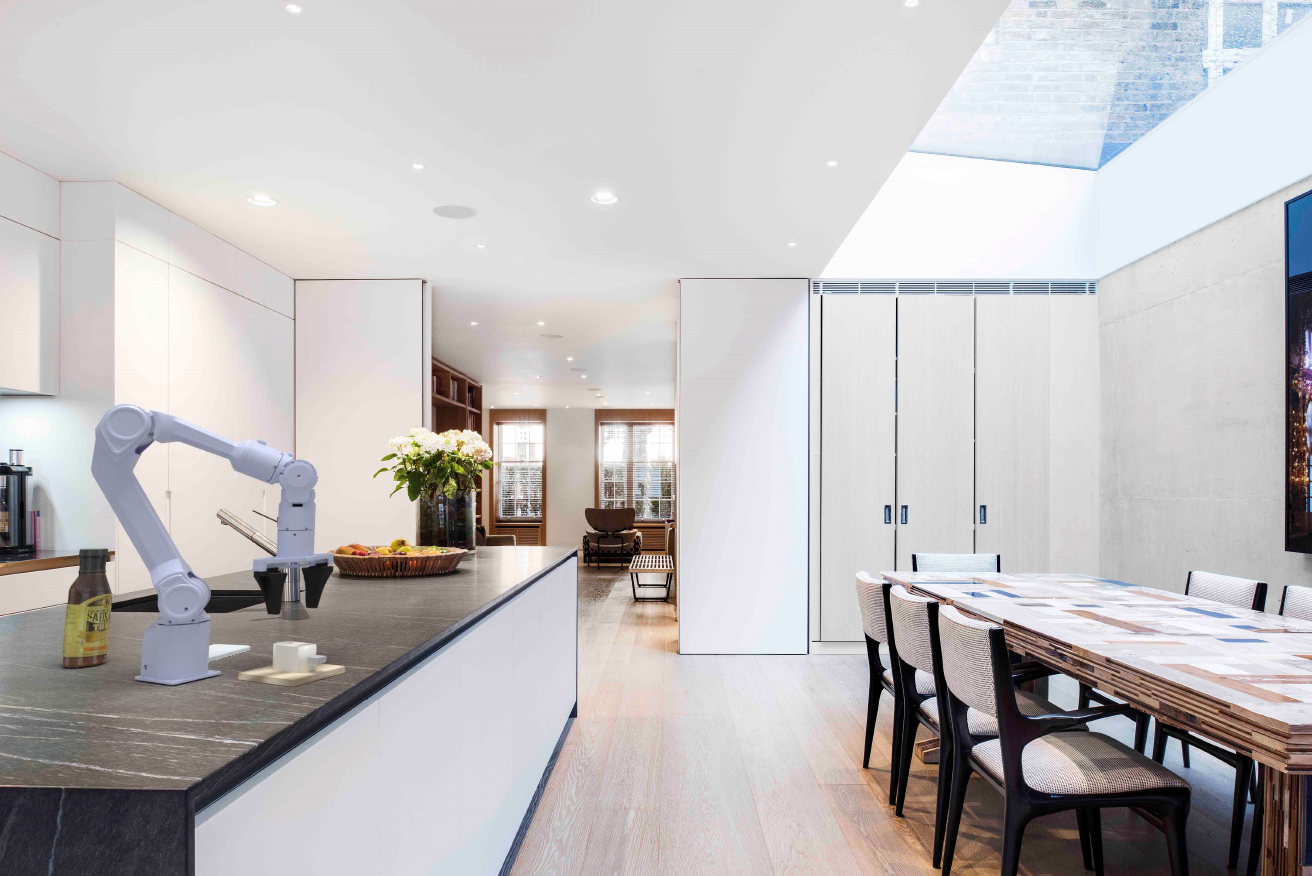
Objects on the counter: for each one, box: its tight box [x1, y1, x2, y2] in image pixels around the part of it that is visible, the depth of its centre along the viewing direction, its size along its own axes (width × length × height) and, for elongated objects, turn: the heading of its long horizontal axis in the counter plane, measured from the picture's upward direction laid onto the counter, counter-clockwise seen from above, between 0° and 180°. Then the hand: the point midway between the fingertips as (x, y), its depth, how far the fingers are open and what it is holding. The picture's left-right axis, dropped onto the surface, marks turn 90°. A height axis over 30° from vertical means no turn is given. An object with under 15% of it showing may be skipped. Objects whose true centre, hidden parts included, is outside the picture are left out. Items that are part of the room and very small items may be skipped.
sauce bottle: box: [61, 547, 113, 668], centre depth 128 cm, size 6×6×20 cm
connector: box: [272, 640, 328, 673], centre depth 118 cm, size 10×3×4 cm, turn 66°
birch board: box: [237, 663, 346, 688], centre depth 118 cm, size 12×10×1 cm
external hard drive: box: [209, 643, 251, 663], centre depth 133 cm, size 2×8×12 cm
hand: (293, 611), depth 125 cm, fingers open, 7 cm apart
